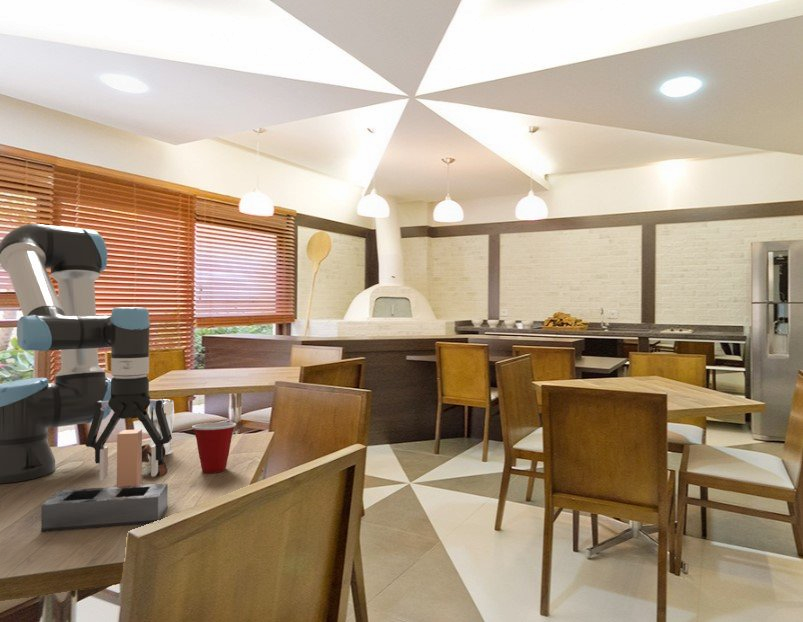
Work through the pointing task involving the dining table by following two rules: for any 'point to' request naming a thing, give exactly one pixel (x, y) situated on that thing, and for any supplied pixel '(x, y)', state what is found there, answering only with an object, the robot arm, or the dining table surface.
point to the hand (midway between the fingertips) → (129, 475)
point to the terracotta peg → (129, 458)
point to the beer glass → (170, 419)
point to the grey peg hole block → (104, 507)
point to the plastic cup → (214, 445)
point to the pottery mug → (148, 450)
